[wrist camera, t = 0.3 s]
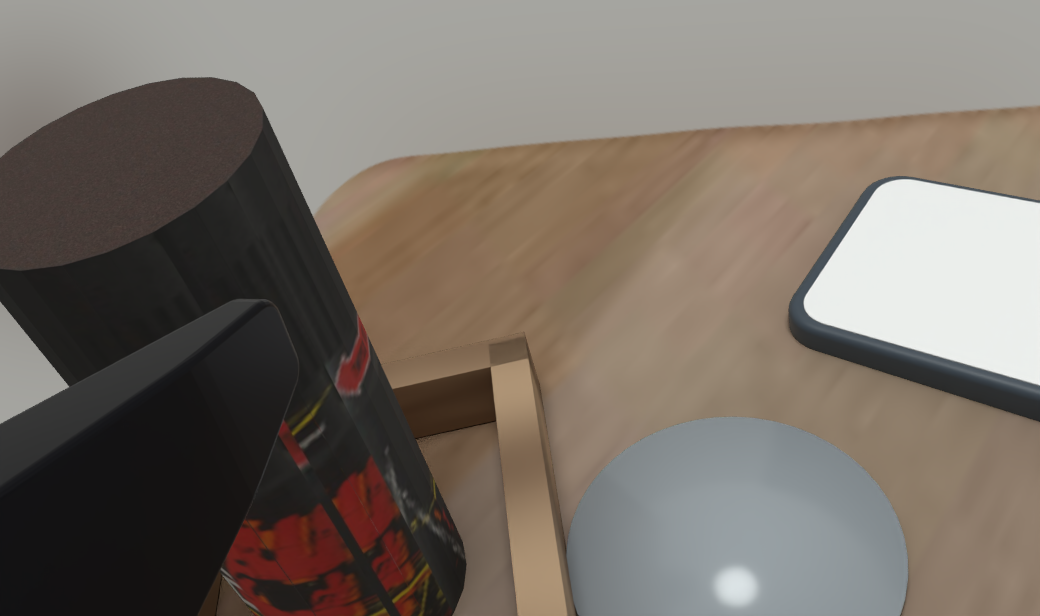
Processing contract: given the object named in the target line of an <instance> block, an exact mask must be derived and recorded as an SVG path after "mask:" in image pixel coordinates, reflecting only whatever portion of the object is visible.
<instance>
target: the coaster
mask: <svg viewBox="0 0 1040 616" xmlns="http://www.w3.org/2000/svg"><path fill="white" fill-rule="evenodd" d="M566 557H567V564H568V570H569V576H570V582H571V589H572V595H573V601H574V605H575V608H576V611H577V614H578V616H901V613H902V610H903V607H904V603H905V596H906V589H907V582H908V555H907V550H906V544H905V539H904V535H903V532H902V529H901V526H900V523H899V520H898V517H897V515H896V513H895V512H894V510H893V508H892V506H891V504H890V502H889V500H888V498H887V497H886V496H885V494H884V493H883V491H882V490H881V488H880V487H879V485H878V484H877V483H876V482H875V481H874V479H873V478H872V477H871V476H870V475H869V474H868V473H867V472H866V471H865V470H864V468H862V467H861V466H860V465H859V464H858V463H857V462H855V461H854V460H853V459H852V458H851V457H850V456H848V455H847V454H846V453H844V452H843V451H841V450H840V449H838V448H837V447H835V446H834V445H832V444H831V443H829V442H827V441H825V440H823V439H821V438H819V437H817V436H815V435H813V434H811V433H808V432H806V431H803V430H801V429H798V428H796V427H793V426H789V425H786V424H782V423H778V422H775V421H769V420H763V419H757V418H745V417H715V418H707V419H700V420H694V421H690V422H686V423H681V424H677V425H675V426H672V427H669V428H666V429H663V430H660V431H658V432H656V433H654V434H652V435H650V436H647V437H645V438H643V439H641V440H640V441H638V442H637V443H635V444H633V445H632V446H630V447H629V448H627V449H626V450H624V451H623V452H622V453H621V454H619V455H618V456H617V457H616V458H614V459H613V460H612V461H611V462H610V463H609V464H608V465H607V466H606V467H605V468H604V469H603V470H602V471H601V472H600V473H599V474H598V476H597V477H596V478H595V479H594V481H593V482H592V483H591V485H590V486H589V487H588V489H587V491H586V492H585V494H584V496H583V498H582V499H581V501H580V503H579V505H578V508H577V510H576V512H575V515H574V517H573V520H572V524H571V528H570V531H569V535H568V542H567V551H566Z"/></svg>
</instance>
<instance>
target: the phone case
mask: <svg viewBox="0 0 1040 616" xmlns="http://www.w3.org/2000/svg"><path fill="white" fill-rule="evenodd" d="M789 326H790V330H791V333H792V335H793V336H794V337H795V339H796V340H798V341H799V342H800V343H801V344H803V345H804V346H806V347H808V348H810V349H813V350H816V351H819V352H822V353H825V354H828V355H831V356H835V357H838V358H841V359H844V360H847V361H850V362H853V363H857V364H860V365H863V366H866V367H869V368H872V369H876V370H879V371H882V372H885V373H888V374H891V375H894V376H898V377H901V378H904V379H907V380H910V381H913V382H916V383H920V384H923V385H926V386H929V387H932V388H935V389H939V390H942V391H945V392H948V393H951V394H954V395H957V396H961V397H964V398H967V399H970V400H973V401H976V402H979V403H983V404H986V405H989V406H992V407H995V408H998V409H1002V410H1005V411H1008V412H1011V413H1014V414H1017V415H1020V416H1024V417H1027V418H1030V419H1033V420H1036V421H1039V422H1040V201H1039V200H1034V199H1028V198H1023V197H1017V196H1012V195H1007V194H1001V193H996V192H990V191H985V190H979V189H974V188H969V187H963V186H958V185H952V184H947V183H941V182H936V181H931V180H925V179H920V178H914V177H907V176H895V177H888V178H884V179H881V180H878V181H876V182H874V183H872V184H871V185H870V186H868V187H867V188H866V190H865V191H864V192H863V193H862V195H861V196H860V198H859V199H858V201H857V202H856V204H855V205H854V207H853V208H852V210H851V211H850V212H849V214H848V215H847V217H846V218H845V220H844V221H843V223H842V224H841V226H840V227H839V229H838V230H837V232H836V233H835V235H834V236H833V238H832V239H831V241H830V242H829V244H828V245H827V247H826V248H825V250H824V251H823V252H822V254H821V255H820V257H819V258H818V260H817V261H816V263H815V264H814V266H813V267H812V269H811V270H810V272H809V273H808V275H807V276H806V278H805V279H804V281H803V282H802V284H801V285H800V287H799V288H798V290H797V291H796V292H795V294H794V295H793V297H792V299H791V301H790V304H789Z"/></svg>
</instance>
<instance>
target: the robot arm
mask: <svg viewBox="0 0 1040 616" xmlns="http://www.w3.org/2000/svg"><path fill="white" fill-rule="evenodd" d="M298 376H299V361H298V357H297V354H296V351H295V349H294V346H293V344H292V341H291V339H290V337H289V334H288V332H287V329H286V327H285V324H284V322H283V319H282V317H281V314H280V312H279V310H278V308H277V307H276V306H275V305H274V304H273V303H272V302H271V301H268V300H266V299H235V300H232V301H230V302H228V303H226V304H224V305H222V306H220V307H219V308H217V309H215V310H213V311H211V312H209V313H207V314H205V315H204V316H202V317H200V318H198V319H196V320H194V321H192V322H190V323H189V324H187V325H185V326H183V327H181V328H179V329H177V330H175V331H174V332H172V333H170V334H168V335H166V336H164V337H162V338H160V339H159V340H157V341H155V342H153V343H151V344H149V345H147V346H145V347H144V348H142V349H140V350H138V351H136V352H134V353H132V354H130V355H129V356H127V357H125V358H123V359H121V360H119V361H117V362H115V363H114V364H112V365H110V366H108V367H106V368H104V369H102V370H100V371H99V372H97V373H95V374H93V375H91V376H89V377H87V378H85V379H84V380H82V381H80V382H78V383H76V384H74V385H72V386H70V387H69V388H67V389H65V390H63V391H61V392H59V393H57V394H55V395H54V396H52V397H50V398H48V399H46V400H44V401H42V402H40V403H39V404H37V405H35V406H33V407H31V408H29V409H27V410H25V411H24V412H22V413H20V414H18V415H16V416H14V417H12V418H10V419H9V420H7V421H5V422H3V423H1V424H0V616H198V615H199V613H200V610H201V608H202V606H203V604H204V602H205V600H206V598H207V596H208V594H209V592H210V590H211V588H212V586H213V584H214V582H215V580H216V578H217V575H218V573H219V571H220V569H221V567H222V565H223V563H224V561H225V559H226V557H227V555H228V553H229V551H230V549H231V547H232V545H233V543H234V541H235V538H236V536H237V534H238V532H239V530H240V528H241V526H242V524H243V522H244V520H245V518H246V516H247V513H248V511H249V509H250V507H251V505H252V502H253V500H254V498H255V495H256V493H257V490H258V488H259V485H260V483H261V480H262V478H263V475H264V472H265V469H266V467H267V464H268V461H269V458H270V456H271V453H272V450H273V447H274V445H275V442H276V439H277V436H278V434H279V431H280V428H281V425H282V423H283V420H284V417H285V414H286V412H287V409H288V406H289V403H290V401H291V398H292V395H293V392H294V390H295V387H296V384H297V381H298Z"/></svg>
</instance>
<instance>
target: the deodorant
mask: <svg viewBox="0 0 1040 616" xmlns="http://www.w3.org/2000/svg"><path fill="white" fill-rule="evenodd" d="M235 299H266V300H268V301H271V302H272V303H273V304H274V305H275V306H276V307H277V308H278V310H279V312H280V314H281V317H282V319H283V322H284V324H285V327H286V329H287V332H288V334H289V337H290V339H291V341H292V344H293V346H294V349H295V351H296V354H297V357H298V361H299V376H298V381H297V384H296V387H295V390H294V392H293V395H292V398H291V401H290V403H289V406H288V409H287V412H286V414H285V417H284V420H283V423H282V425H281V428H280V431H279V434H278V436H277V439H276V442H275V445H274V447H273V450H272V453H271V456H270V458H269V461H268V464H267V467H266V469H265V472H264V475H263V478H262V480H261V483H260V485H259V488H258V490H257V493H256V495H255V498H254V500H253V502H252V505H251V507H250V509H249V511H248V513H247V516H246V518H245V520H244V522H243V524H242V526H241V528H240V530H239V532H238V534H237V536H236V538H235V541H234V543H233V545H232V547H231V549H230V551H229V553H228V555H227V557H226V559H225V561H224V563H223V565H222V567H221V569H220V571H219V572H220V573H221V574H222V575H223V577H224V578H225V579H226V580H227V582H228V583H229V584H230V585H231V587H232V588H233V589H234V590H235V591H236V593H237V594H238V595H239V596H240V598H241V599H242V600H243V601H244V603H245V604H246V605H247V606H248V607H249V609H250V610H251V611H252V612H253V614H254V615H255V616H452V614H453V612H454V610H455V608H456V605H457V603H458V600H459V598H460V595H461V593H462V590H463V586H464V579H465V571H466V559H465V553H464V547H463V542H462V540H461V537H460V535H459V533H458V531H457V529H456V526H455V524H454V522H453V520H452V518H451V516H450V513H449V511H448V509H447V507H446V505H445V503H444V500H443V498H442V496H441V494H440V492H439V490H438V487H437V485H436V483H435V481H434V479H433V477H432V474H431V472H430V470H429V468H428V466H427V463H426V461H425V459H424V457H423V455H422V453H421V450H420V448H419V446H418V444H417V442H416V440H415V437H414V435H413V433H412V431H411V429H410V427H409V424H408V422H407V420H406V418H405V416H404V414H403V411H402V409H401V407H400V405H399V403H398V400H397V398H396V396H395V394H394V392H393V390H392V387H391V385H390V383H389V381H388V379H387V377H386V374H385V372H384V370H383V368H382V366H381V364H380V361H379V359H378V357H377V355H376V353H375V350H374V348H373V346H372V344H371V342H370V340H369V337H368V335H367V333H366V331H365V329H364V327H363V324H362V322H361V320H360V318H359V316H358V314H357V311H356V309H355V307H354V305H353V303H352V301H351V298H350V296H349V294H348V292H347V290H346V287H345V285H344V283H343V281H342V279H341V277H340V274H339V272H338V270H337V268H336V266H335V264H334V261H333V259H332V257H331V255H330V253H329V251H328V248H327V246H326V244H325V242H324V240H323V238H322V235H321V233H320V231H319V229H318V227H317V224H316V222H315V220H314V218H313V216H312V214H311V212H310V209H309V207H308V205H307V203H306V201H305V199H304V196H303V194H302V192H301V190H300V188H299V186H298V183H297V181H296V179H295V177H294V175H293V172H292V170H291V168H290V166H289V164H288V162H287V159H286V157H285V155H284V153H283V151H282V149H281V146H280V144H279V142H278V140H277V138H276V136H275V133H274V132H273V129H272V127H271V125H270V123H269V120H268V118H267V116H266V114H265V112H264V109H263V107H262V106H261V104H260V102H259V100H258V99H257V97H256V95H255V93H254V92H252V91H250V90H249V89H247V88H245V87H244V86H242V85H240V84H239V83H237V82H233V81H228V80H223V79H218V78H212V77H209V78H208V77H207V78H178V79H173V80H166V81H160V82H155V83H149V84H145V85H142V86H139V87H135V88H132V89H128V90H125V91H122V92H118V93H115V94H112V95H109V96H107V97H105V98H102V99H100V100H97V101H95V102H92V103H90V104H87V105H85V106H83V107H80V108H78V109H76V110H74V111H72V112H70V113H68V114H66V115H65V116H63V117H61V118H59V119H57V120H55V121H53V122H51V123H49V124H48V125H46V126H44V127H42V128H41V129H39V130H38V131H36V132H35V133H33V134H32V135H30V136H29V137H28V138H26V139H24V140H23V141H21V142H20V143H19V144H17V145H16V146H14V147H12V148H11V149H10V150H9V151H8V152H7V153H5V155H3V156H2V157H1V158H0V302H1V303H2V304H3V305H4V307H5V308H6V309H7V310H8V312H9V313H10V314H11V315H12V316H13V318H14V319H15V320H16V321H17V323H18V324H19V325H20V326H21V328H22V329H23V330H24V331H25V333H26V334H27V335H28V336H29V337H30V339H31V340H32V341H33V342H34V344H35V345H36V346H37V347H38V348H39V350H40V351H41V352H42V353H43V355H44V356H45V357H46V358H47V360H48V361H49V362H50V363H51V364H52V366H53V367H54V368H55V369H56V371H57V372H58V373H59V374H60V376H61V377H62V378H63V379H64V381H65V382H66V383H67V384H68V386H69V387H70V386H72V385H74V384H76V383H78V382H80V381H82V380H84V379H85V378H87V377H89V376H91V375H93V374H95V373H97V372H99V371H100V370H102V369H104V368H106V367H108V366H110V365H112V364H114V363H115V362H117V361H119V360H121V359H123V358H125V357H127V356H129V355H130V354H132V353H134V352H136V351H138V350H140V349H142V348H144V347H145V346H147V345H149V344H151V343H153V342H155V341H157V340H159V339H160V338H162V337H164V336H166V335H168V334H170V333H172V332H174V331H175V330H177V329H179V328H181V327H183V326H185V325H187V324H189V323H190V322H192V321H194V320H196V319H198V318H200V317H202V316H204V315H205V314H207V313H209V312H211V311H213V310H215V309H217V308H219V307H220V306H222V305H224V304H226V303H228V302H230V301H232V300H235Z"/></svg>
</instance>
